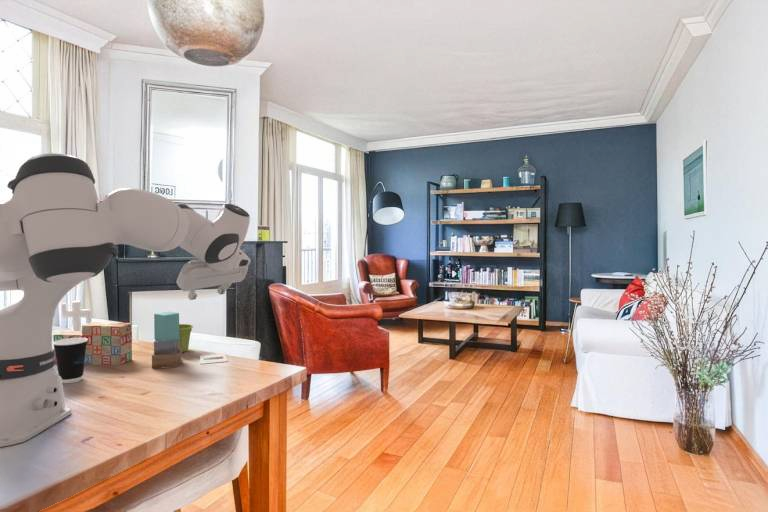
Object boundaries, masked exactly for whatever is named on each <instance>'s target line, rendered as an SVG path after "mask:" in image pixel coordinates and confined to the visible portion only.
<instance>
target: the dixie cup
mask: <svg viewBox="0 0 768 512" xmlns="http://www.w3.org/2000/svg"><path fill="white" fill-rule="evenodd" d="M87 341H88V339H87V338H67V339H61V340H57V341H54V340H53V341H52V345H53V349H54V348H55V355H56V361H57V363H56V367H57V372H58V373H57V374H58V375H59V376H60V377H61V378H62V384H70V383H71V384H72V383H76V382H79V381H81V380H82V379H83V375H84V369H85V364H84V361H85V352H86V343H87Z"/></svg>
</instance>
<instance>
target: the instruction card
mask: <svg viewBox="0 0 768 512" xmlns="http://www.w3.org/2000/svg"><path fill="white" fill-rule="evenodd" d="M227 362H228V358H227V356H226V353H217V354H206V355H199V363H200V365H205V364H208V363H209V364H217V363H227Z"/></svg>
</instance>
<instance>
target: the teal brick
mask: <svg viewBox="0 0 768 512" xmlns="http://www.w3.org/2000/svg"><path fill="white" fill-rule="evenodd" d="M153 315H154V316H153V317H154V321H153V323H154V324H153V326H154V329H153V330H154V334H153V335H154V341H155V340H158V341H163V342H165V341H170V340H175V339H179V324H180V313H179V312H173V311H165V312H158V313H157V312H156V313H154V314H153Z"/></svg>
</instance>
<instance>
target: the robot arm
mask: <svg viewBox="0 0 768 512" xmlns="http://www.w3.org/2000/svg"><path fill="white" fill-rule="evenodd" d="M95 183H96V180H95V177H94V174H93V172H92V169H91V167H90V166H89V164H88V163H87V162H86V161H84V160H82V159H81V158H79V157H77V156H74V155H70V154H66V153H53V152H51V153H42V154H37V155H34V156H32V157H30V158H29V159H27V160H26V161H25V162H24V163H23V164H21V166H20V167H19V168H18V171H17V173H16V176H15V178H13V179H12V180H10V181H9V182H8V183H7V186H6V187H7V188H8V189H10V190H12V191H11V193H12V197H11V198H10V200H8V201H3V202H1V201H0V292H1V291H2V292H4V291H7V292H8V291H22V292H23V297H22V299H21V300H18V301H17V302H16V303H14V304H11V305H8V306H7V307H4V308H3V309H0V448H2V447H8V446H12V445H17V444H20V443H24V442H27V441H28V440H30V439H31V438H34V437H35V436H36V435H39V434H40V433H42V432H43V431H44V430H45V431H46V429H48V428H50V427H51V426H53V425H55V424H56V423H58V422H60V421H61V420H63V419H65V418H66V417H68V416H70V415H71V414H72V408H70V407H68V406H66V405H65V395H64V387H63V383H62V378H61V377H60V376H59V374H58V373H57V372H56V369H55V368H54V366H55V365H56V363H55V355H54V348H53V341H52V340H53V324H54V317H55V313H56V311H57V309H58V306H59V304H60V302H61V301H62V300H63V298H64V297H65V296H66V295H67V293H68V292H70V291H71V290H73V288H74V287H76V286H77V285H80V283H82V282H83V281H86V280H89V279H91V278H93V277H96V276H98V275H100V274H101V272H103V271H104V270H105V269H106V268H107V267H108V265H109V264H110V262H111V260H112V259H114V258H116V257H117V256H118V254H119V253H120V251H119V249H118V248H115V247H114V246H116V245H128V246H131V247H134V248H137V249H141V250H145V251H150V252H156V253H157V252H158V253H159V252H160V253H162V252H168V251H172V250H174V249H176V248H177V247H179V248H181V249H182V250H185V251H186V252H188V253H189V254H191V255H192V256H194V257H195V258H197V259H190V260H189V261H188V262H186V263H185V264H183V267H182V268H181V270H180V272H179V274H178V275H177V278H176V285H177V287H179V289H180V290H181V291H182V292H188V295H187V298H188V299H189V300H190V301H193V300H196V299H197V297H198V294H197V293H196V291H197V290H199V289H206V288H212V287H217V286H218V287H217V290H216V292H217V293H218V295H225V293H226V290H228V289H229V288H230V287H231V286H232V284H236V283H241V282H242V281H244V279H246V275H247V273H248V271H249V270H248V269H249V265H250V264H251V261H252V260H251V258H250V257H249V256H248V255H247V254H246V253H245V252H244V251H243V250H241V246H242V244H244V242H245V239H246V236H247V234H248V230H249V226H250V222H251V221H250V220H251V217H250V214H249V213H248V211H246V210H245V209H244V208H242V207H240V206H238V205H235V204H233V203H224V204H223V205H222V206H221V208H220V210H219V211H218V214H217V216H216V218H215V220H211V219H209V218H206V217H205V216H203V215H202V214H200V213H198V212H197V211H196V210H195V209H193V208H192V207H190V206H189V205H187V204H185V203H183V204H182V203H179V204H177V203H175V202H174V201H172V200H171V199H168V198H167V197H165V196H162V195H160V194H158V193H155V192H152V191H149V190H144V189H138V188H133V187H132V188H131V187H127V188H126V187H125V188H118V189H116V190H113V191H111V192H110V193H109V194H107V195H106V196H105V197H104V198H103V200H102V201H99V197H98V193H97V191H96V188H95V187H96V186H95Z"/></svg>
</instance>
